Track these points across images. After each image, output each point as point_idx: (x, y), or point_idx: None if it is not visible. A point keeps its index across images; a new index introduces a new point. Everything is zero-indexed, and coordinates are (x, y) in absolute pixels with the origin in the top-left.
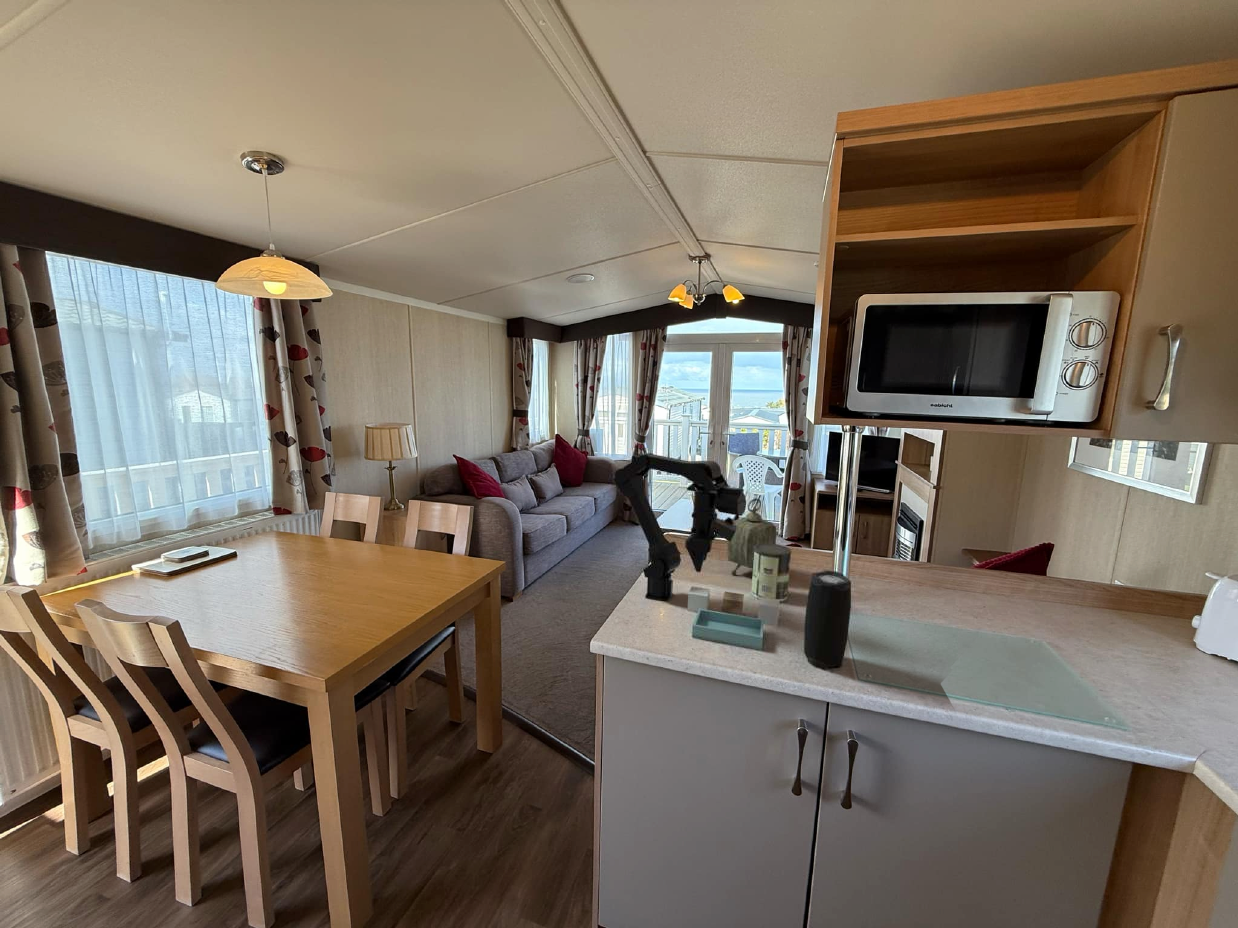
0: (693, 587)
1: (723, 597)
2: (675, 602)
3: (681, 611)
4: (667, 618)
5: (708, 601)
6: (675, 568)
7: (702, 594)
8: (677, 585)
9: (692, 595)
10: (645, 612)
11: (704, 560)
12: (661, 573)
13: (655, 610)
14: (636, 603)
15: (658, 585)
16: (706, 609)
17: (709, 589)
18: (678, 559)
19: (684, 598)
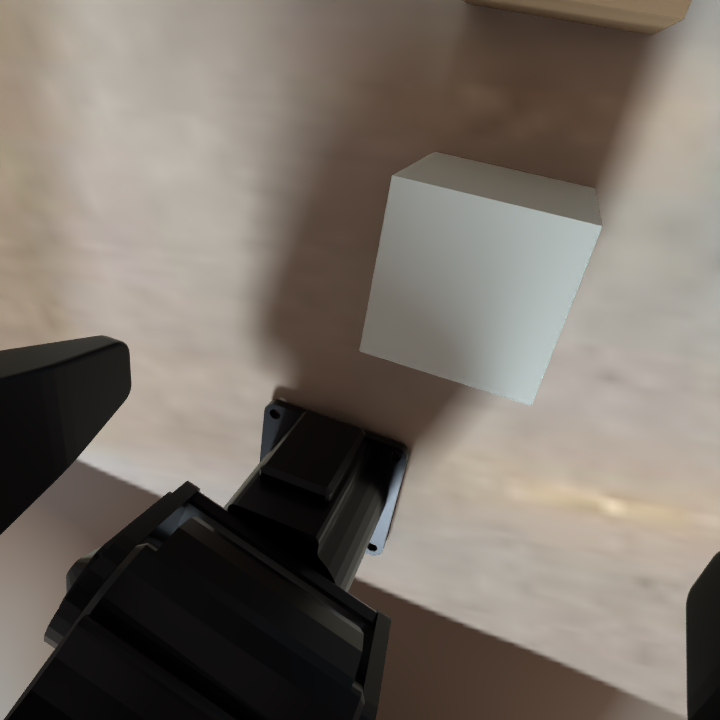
0: (383, 339)
1: (639, 6)
2: (411, 395)
3: (558, 378)
4: (684, 484)
5: (476, 172)
6: (229, 542)
7: (551, 274)
8: (152, 346)
9: (545, 364)
10: (586, 583)
11: (127, 352)
12: (382, 672)
13: (552, 528)
14: (462, 598)
15: (358, 558)
16: (595, 196)
17: (402, 181)
18: (166, 601)
19: (334, 328)
